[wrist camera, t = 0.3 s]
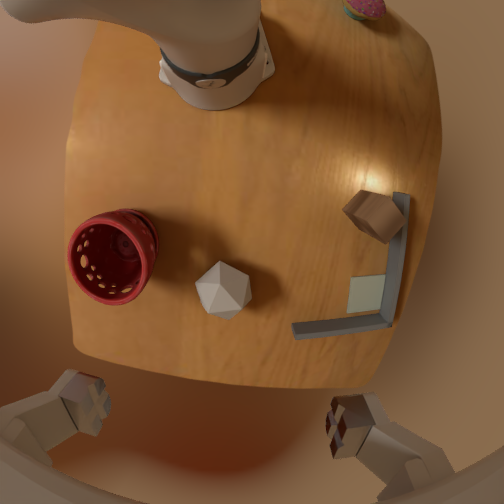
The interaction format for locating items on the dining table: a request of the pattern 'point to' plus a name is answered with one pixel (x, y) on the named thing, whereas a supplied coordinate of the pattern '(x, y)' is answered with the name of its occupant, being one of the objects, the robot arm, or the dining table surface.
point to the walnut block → (375, 215)
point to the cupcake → (365, 9)
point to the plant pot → (114, 255)
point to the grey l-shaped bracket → (368, 292)
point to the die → (224, 290)
